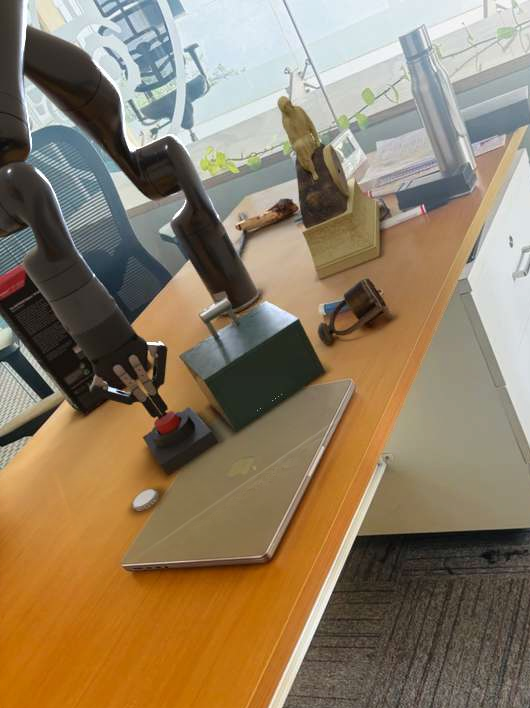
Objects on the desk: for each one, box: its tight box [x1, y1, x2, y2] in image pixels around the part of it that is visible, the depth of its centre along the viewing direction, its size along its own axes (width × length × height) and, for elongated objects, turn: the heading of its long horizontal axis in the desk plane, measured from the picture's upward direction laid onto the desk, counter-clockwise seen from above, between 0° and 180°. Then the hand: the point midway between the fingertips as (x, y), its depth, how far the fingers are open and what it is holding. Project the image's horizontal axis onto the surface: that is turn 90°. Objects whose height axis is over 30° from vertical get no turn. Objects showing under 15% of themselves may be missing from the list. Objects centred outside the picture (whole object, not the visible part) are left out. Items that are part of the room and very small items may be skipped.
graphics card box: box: [0, 262, 152, 415], centre depth 128 cm, size 17×7×27 cm, turn 135°
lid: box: [178, 297, 302, 384], centre depth 104 cm, size 14×17×5 cm
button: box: [153, 410, 181, 434], centre depth 105 cm, size 4×4×2 cm
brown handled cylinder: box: [317, 277, 392, 345], centre depth 113 cm, size 7×13×10 cm
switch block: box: [142, 406, 219, 476], centre depth 107 cm, size 12×9×4 cm
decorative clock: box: [276, 95, 381, 280], centre depth 137 cm, size 28×13×30 cm, turn 179°
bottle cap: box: [131, 488, 160, 512], centre depth 99 cm, size 4×4×1 cm
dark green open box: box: [183, 322, 326, 432], centre depth 108 cm, size 13×17×9 cm
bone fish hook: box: [234, 198, 300, 231], centre depth 180 cm, size 9×5×18 cm
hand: (161, 415), depth 104 cm, fingers closed
